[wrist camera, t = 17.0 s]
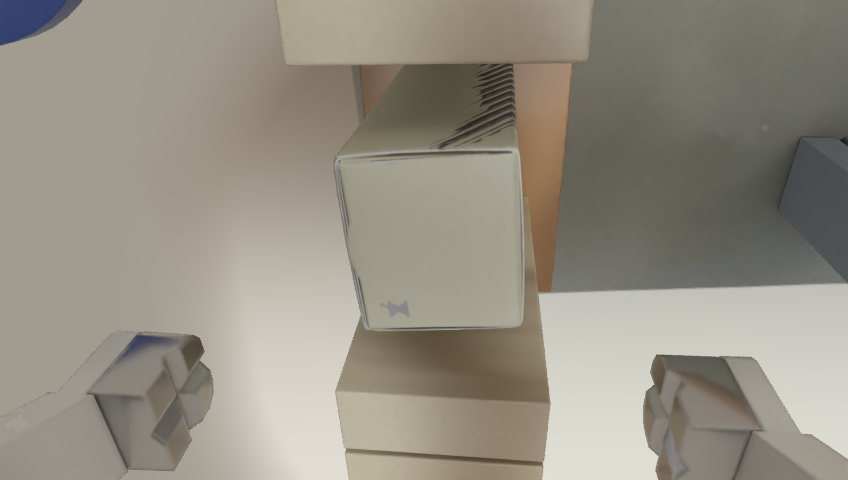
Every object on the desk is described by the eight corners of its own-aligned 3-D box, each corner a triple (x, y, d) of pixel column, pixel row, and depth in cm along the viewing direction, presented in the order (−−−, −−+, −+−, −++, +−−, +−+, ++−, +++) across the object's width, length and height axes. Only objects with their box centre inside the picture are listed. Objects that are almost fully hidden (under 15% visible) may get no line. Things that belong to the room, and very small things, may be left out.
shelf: (418, 158, 45) (309, 508, 19) (406, -139, 35) (133, -293, 9) (531, 159, 44) (585, 531, 18) (552, -147, 34) (745, -346, 8)
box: (515, 155, 25) (529, 342, 14) (419, 160, 26) (361, 343, 15) (512, 33, 23) (526, 146, 12) (405, 42, 23) (324, 158, 12)
